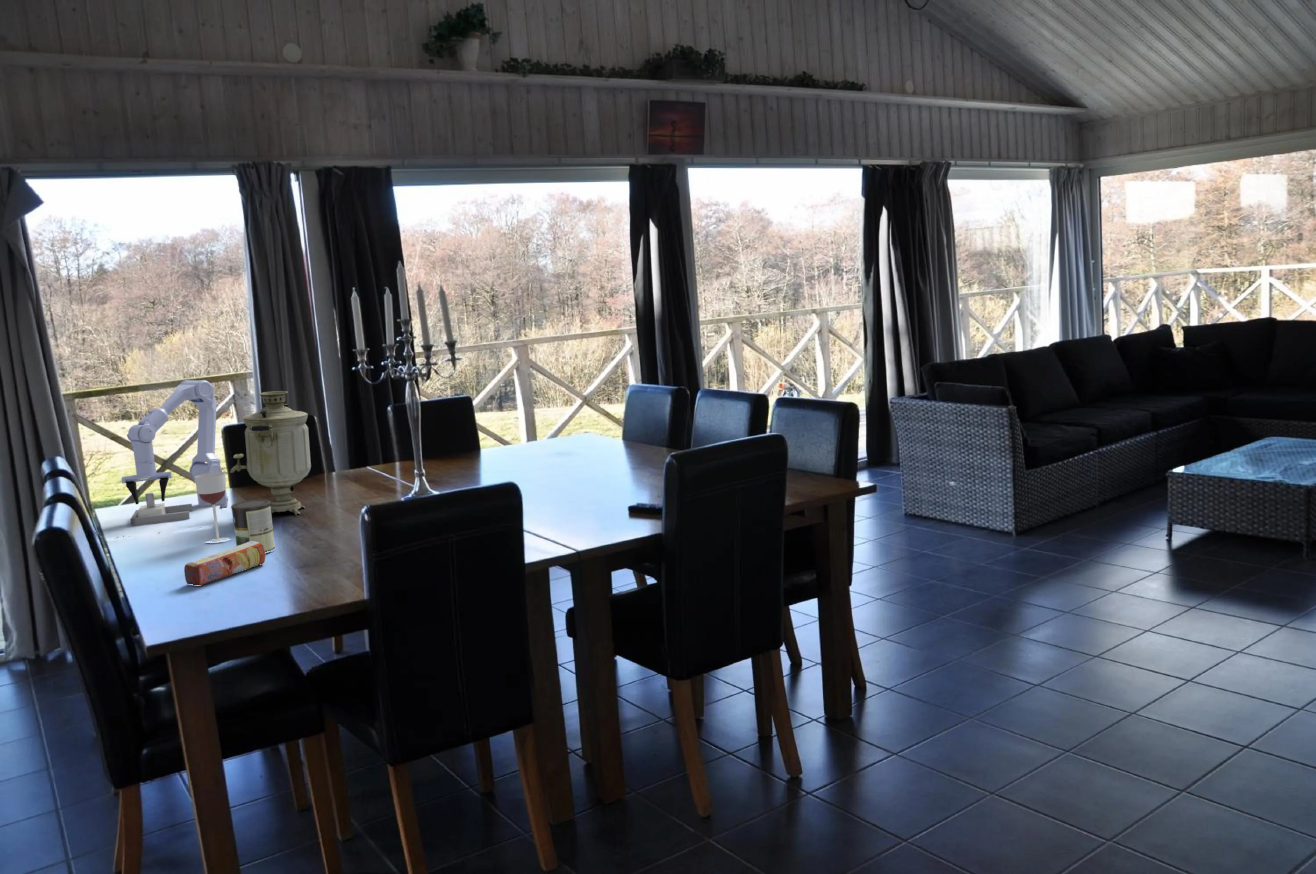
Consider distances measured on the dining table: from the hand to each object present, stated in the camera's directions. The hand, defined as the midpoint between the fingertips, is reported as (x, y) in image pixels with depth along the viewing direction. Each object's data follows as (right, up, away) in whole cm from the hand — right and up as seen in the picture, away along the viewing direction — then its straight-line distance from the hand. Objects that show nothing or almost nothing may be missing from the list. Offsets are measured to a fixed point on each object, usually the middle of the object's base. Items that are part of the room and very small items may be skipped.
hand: (150, 502), depth 337 cm
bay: (+3, -6, +2) cm, 7 cm away
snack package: (+53, -15, -67) cm, 86 cm away
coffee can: (+52, -11, -45) cm, 69 cm away
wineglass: (+34, -10, -29) cm, 46 cm away
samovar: (+40, -4, +6) cm, 40 cm away
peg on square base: (0, -6, +1) cm, 6 cm away
